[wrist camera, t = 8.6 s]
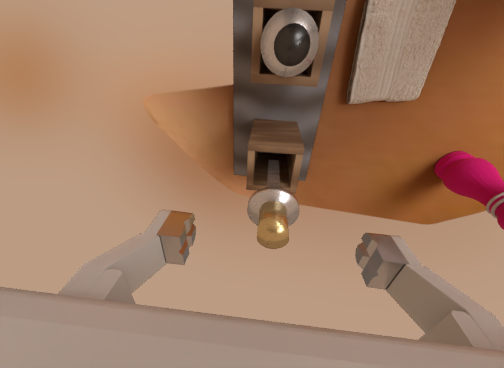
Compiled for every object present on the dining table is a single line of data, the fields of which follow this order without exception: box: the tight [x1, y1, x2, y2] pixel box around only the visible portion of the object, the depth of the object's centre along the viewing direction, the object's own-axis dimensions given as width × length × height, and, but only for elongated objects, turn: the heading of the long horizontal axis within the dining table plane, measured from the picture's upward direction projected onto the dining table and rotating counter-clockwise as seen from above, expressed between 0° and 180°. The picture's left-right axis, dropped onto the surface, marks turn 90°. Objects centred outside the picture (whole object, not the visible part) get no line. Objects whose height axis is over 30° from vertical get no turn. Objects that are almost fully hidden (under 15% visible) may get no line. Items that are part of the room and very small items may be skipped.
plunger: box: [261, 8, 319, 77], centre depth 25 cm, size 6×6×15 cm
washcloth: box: [347, 0, 456, 104], centre depth 32 cm, size 12×18×3 cm, turn 4°
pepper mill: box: [434, 151, 504, 229], centre depth 35 cm, size 7×7×20 cm
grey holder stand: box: [233, 0, 347, 194], centre depth 33 cm, size 34×16×14 cm, turn 177°
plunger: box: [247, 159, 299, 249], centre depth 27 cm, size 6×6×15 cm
